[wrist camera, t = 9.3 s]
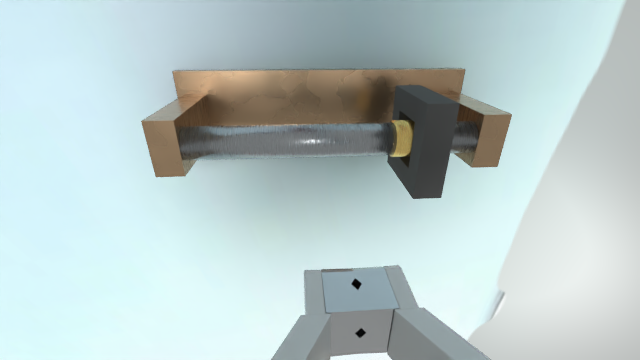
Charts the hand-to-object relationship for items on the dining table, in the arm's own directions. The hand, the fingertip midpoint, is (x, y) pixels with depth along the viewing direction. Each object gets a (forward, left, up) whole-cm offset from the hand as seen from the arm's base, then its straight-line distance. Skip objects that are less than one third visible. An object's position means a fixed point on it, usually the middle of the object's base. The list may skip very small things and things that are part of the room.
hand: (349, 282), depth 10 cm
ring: (0, +7, -18) cm, 19 cm away
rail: (0, +1, -22) cm, 22 cm away
